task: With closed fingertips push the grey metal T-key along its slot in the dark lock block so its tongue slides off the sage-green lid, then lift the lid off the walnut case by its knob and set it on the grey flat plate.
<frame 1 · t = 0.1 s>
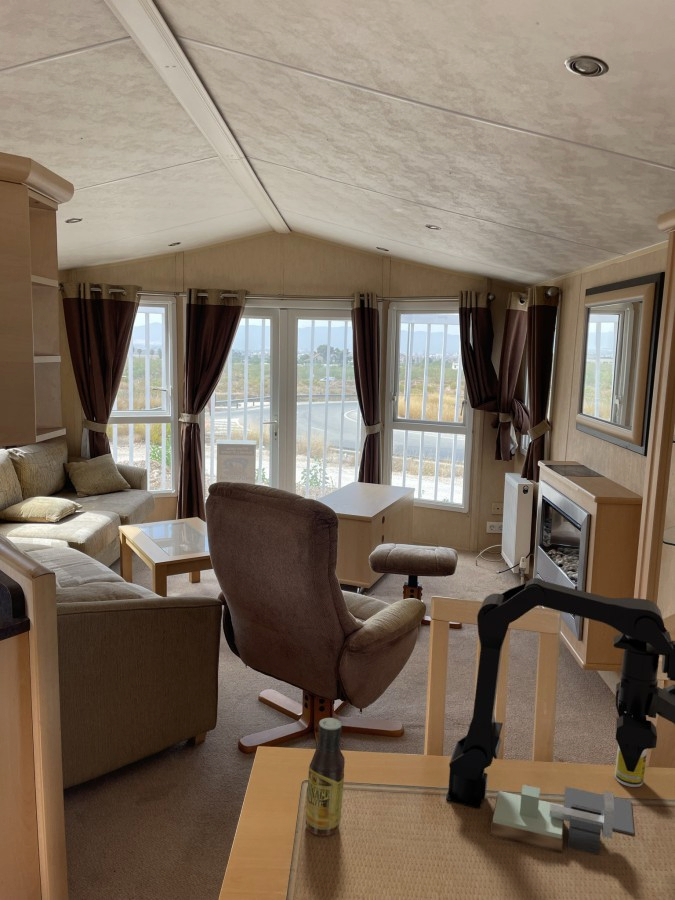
hand: (629, 757, 130), 15 cm above the table, fingers open, 9 cm apart
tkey: (581, 807, 128), point 6 cm above the table, slide at 0.0 cm
grey flat plate: (597, 810, 138), on the table
sauce bottle: (323, 828, 130), on the table
cover: (528, 815, 131), point 2 cm above the table, touching case
lock block: (583, 842, 129), on the table
supplement bottle: (628, 781, 148), on the table
case: (527, 828, 132), on the table
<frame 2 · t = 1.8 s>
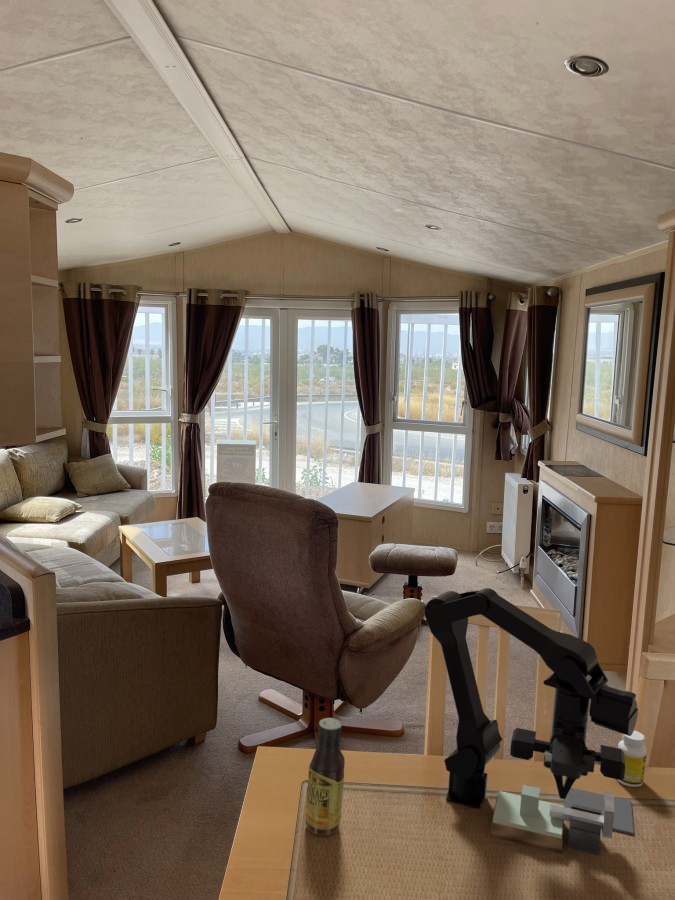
hand: (562, 797, 129), 7 cm above the table, fingers closed
nothing on the table moved.
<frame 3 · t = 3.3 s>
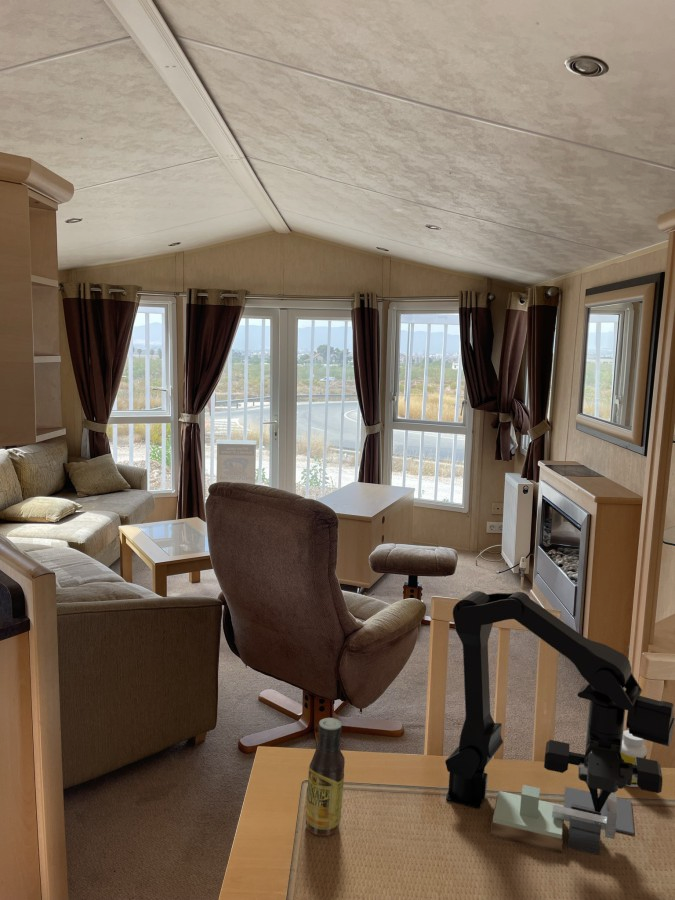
hand: (597, 810, 127), 6 cm above the table, fingers closed
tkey: (583, 808, 128), point 6 cm above the table, slide at 0.5 cm, touching gripper
everything else where it was.
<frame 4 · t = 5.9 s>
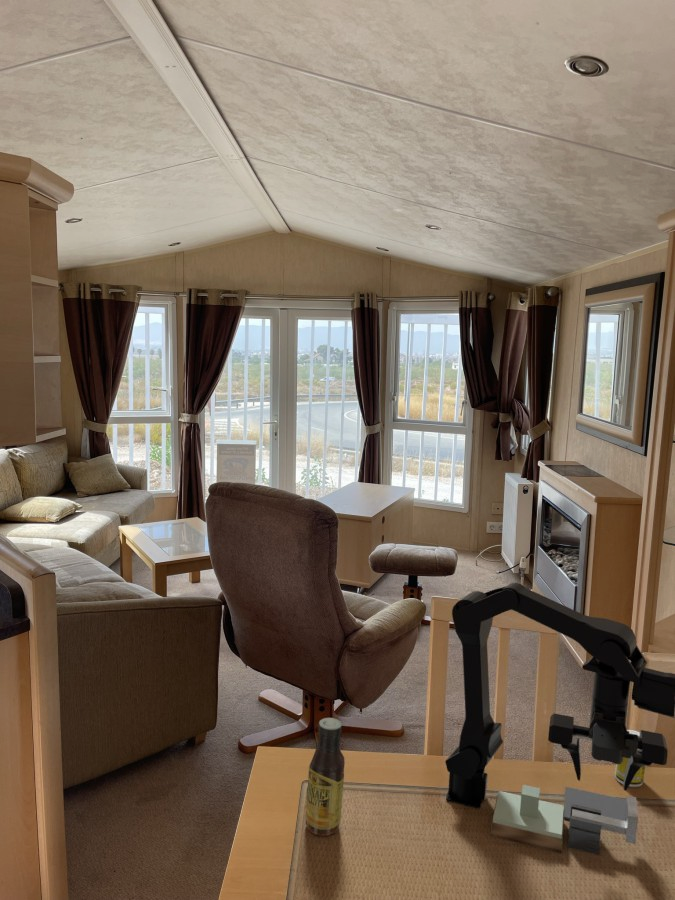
hand: (601, 784, 126), 11 cm above the table, fingers open, 7 cm apart
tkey: (603, 813, 127), point 6 cm above the table, slide at 3.7 cm
everything else where it was.
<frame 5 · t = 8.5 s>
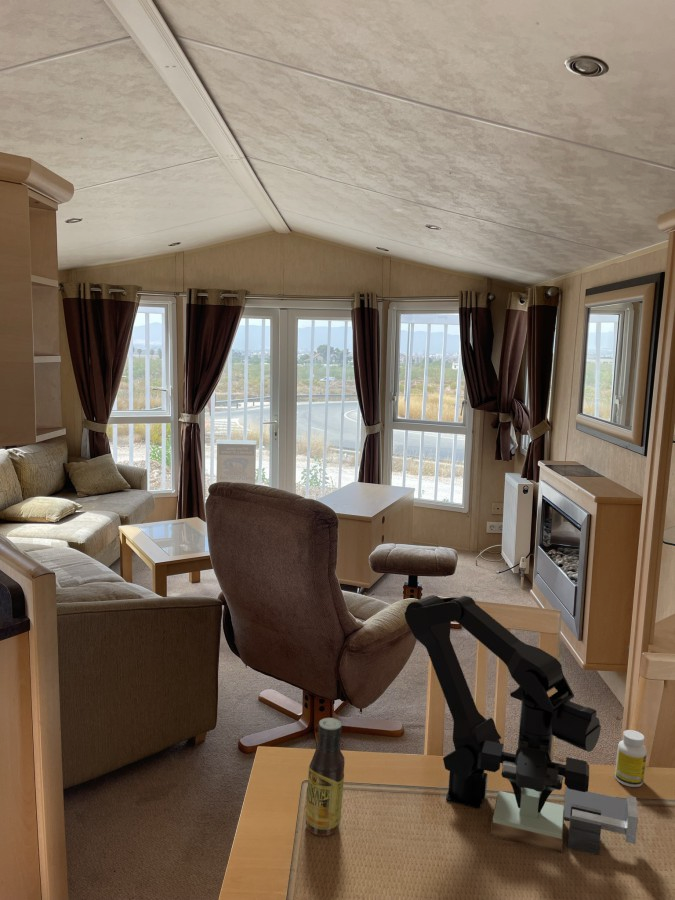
hand: (529, 809, 131), 4 cm above the table, fingers closed on cover, 3 cm apart
cover: (528, 815, 131), point 2 cm above the table, touching case, gripper
everything else where it was.
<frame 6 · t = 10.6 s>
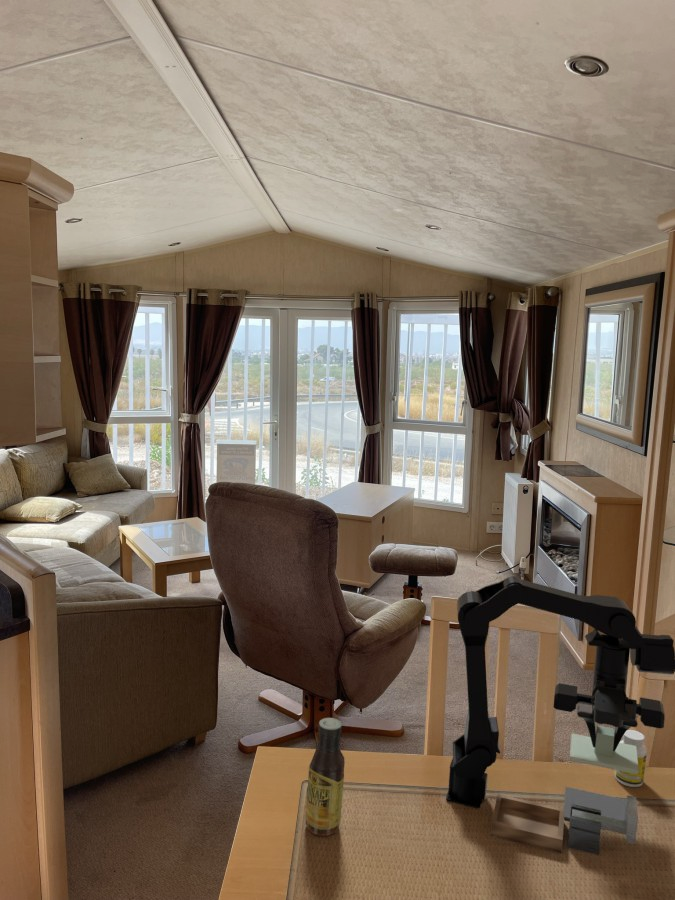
hand: (603, 748, 136), 13 cm above the table, fingers closed on cover, 3 cm apart
cover: (603, 755, 136), point 11 cm above the table, touching gripper
everything else where it was.
when the fingers open (3 cm above the table, at t = 12.7 s): cover drops 1 cm, resting on grey flat plate.
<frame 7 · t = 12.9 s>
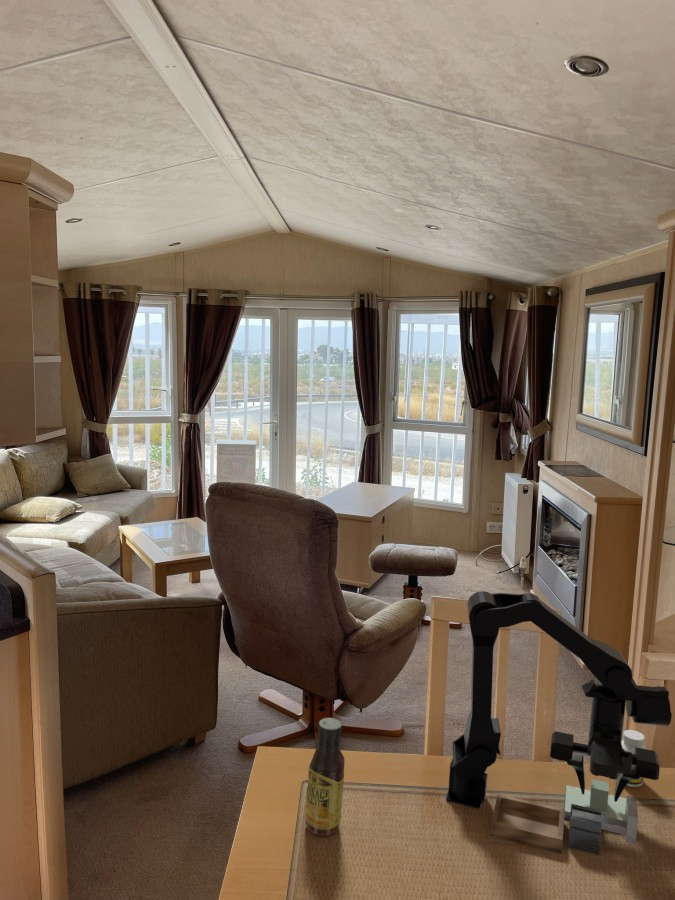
hand: (599, 796, 137), 3 cm above the table, fingers open, 5 cm apart
cover: (597, 808, 138), resting on grey flat plate
everything else where it was.
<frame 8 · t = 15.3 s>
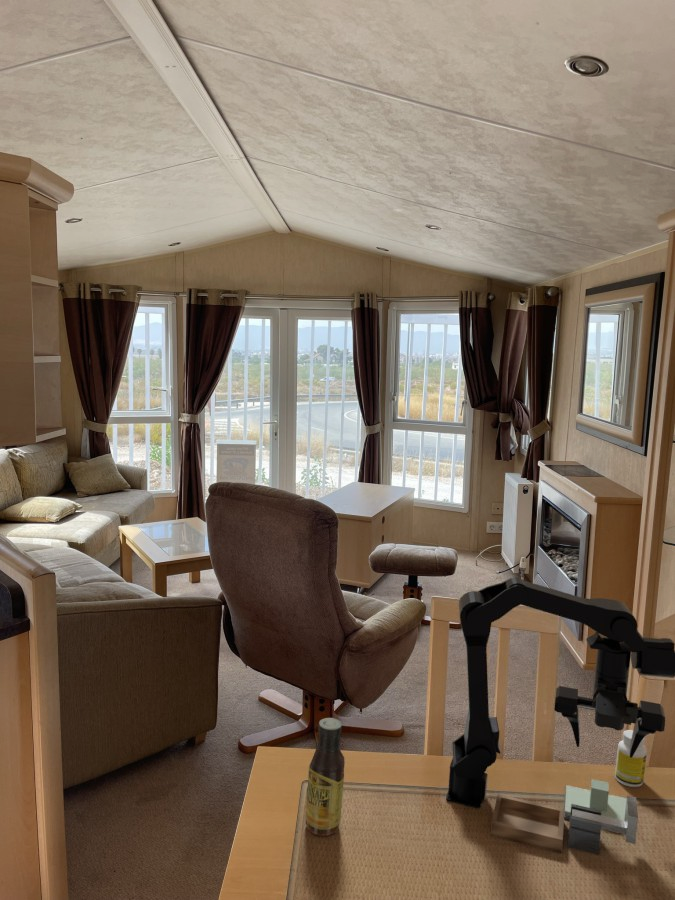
hand: (604, 751, 136), 12 cm above the table, fingers open, 9 cm apart
nothing on the table moved.
at the end: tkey slide at 3.7 cm; cover inside the target area on the grey flat plate (0.1 cm from its centre), point 0.4 cm above the grey flat plate's base; cover tilted 0° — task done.
